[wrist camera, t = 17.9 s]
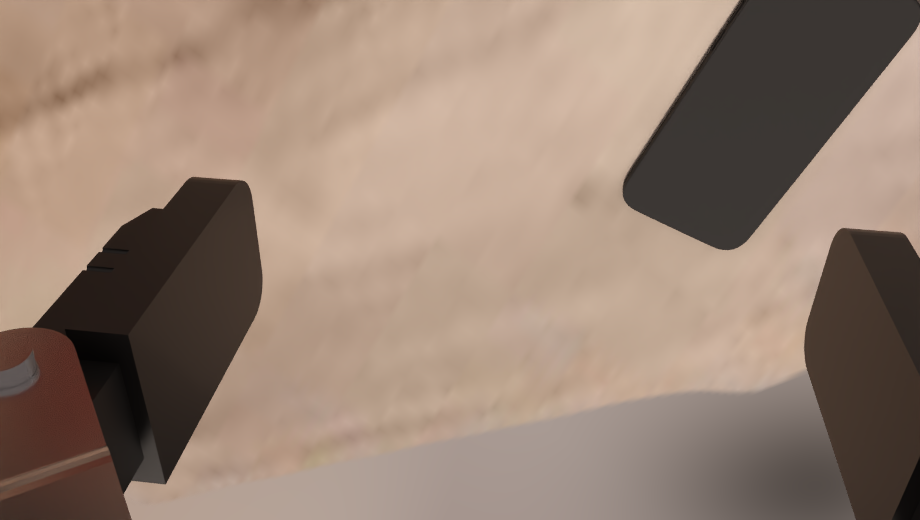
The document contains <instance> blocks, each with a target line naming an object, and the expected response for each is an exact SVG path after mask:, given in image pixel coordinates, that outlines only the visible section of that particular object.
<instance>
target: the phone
mask: <svg viewBox="0 0 920 520" xmlns="http://www.w3.org/2000/svg"><path fill="white" fill-rule="evenodd" d="M919 23H920V5H919V3H918V2H917V0H743V2H741V3H740V4H739V6H738V8H737V9H736V11H735V12H734V14H733V15H732V17H731V18H730V20H729V21H728V25H727V26H726V28H725V29H723V30H722V32H721V33H720V35H719V36H718V38H717V39H716V41H715V42H714V44H713V45H712V47H711V49H710V52H709V53H708V55H707V57H706V58H705V60H704V61H703V63H702V64H701V66H700V67H699V69H698V70H697V72H696V73H695V75H694V76H693V78H692V79H691V81H690V82H689V84H688V85H687V87H686V89H685V90H684V92H683V93H682V95H681V96H680V98H679V99H678V101H677V102H676V104H675V105H674V107H673V108H672V110H671V111H670V113H669V114H668V116H667V117H666V119H665V120H664V122H663V124H662V125H661V127H660V128H659V130H658V131H657V133H656V134H655V136H654V137H653V139H652V140H651V142H650V143H649V145H648V146H647V148H646V149H645V151H644V152H643V154H642V155H641V157H640V159H639V160H638V162H637V163H636V165H635V166H634V168H633V169H632V171H631V172H630V174H629V175H628V177H627V179H626V181H625V183H624V186H623V197H624V200H625V202H626V203H627V204H628V206H630V207H631V208H632V209H634V210H636V211H638V212H640V213H642V214H644V215H646V216H648V217H650V218H652V219H655V220H657V221H659V222H661V223H663V224H665V225H667V226H669V227H671V228H674V229H676V230H678V231H680V232H682V233H684V234H686V235H689V236H691V237H693V238H695V239H697V240H699V241H701V242H704V243H706V244H708V245H710V246H712V247H715V248H717V249H722V250H731V249H735V248H738V247H739V246H741V245H742V244H744V243H745V242H746V241H747V240H748V239H749V238H750V236H751V235H752V234H753V233H754V232H755V230H756V229H757V228H758V227H759V225H760V224H761V223H762V222H763V220H764V219H765V218H766V217H767V215H768V214H769V213H770V212H771V210H772V209H773V208H774V207H775V205H776V204H777V203H778V202H779V200H780V199H781V198H782V197H783V195H784V194H785V193H786V192H787V190H788V189H789V188H790V187H791V185H792V184H793V183H794V182H795V180H796V179H797V178H798V177H799V176H800V174H801V173H802V172H803V171H804V169H805V168H806V167H807V166H808V164H809V163H810V162H811V161H812V159H813V158H814V157H815V156H816V154H817V153H818V152H819V151H820V149H821V148H822V147H823V146H824V144H825V143H826V142H827V141H828V139H829V138H830V137H831V136H832V134H833V133H834V132H835V131H836V129H837V128H838V127H839V126H840V124H841V123H842V122H843V121H844V119H845V118H846V117H847V116H848V114H849V113H850V112H851V111H852V109H853V108H854V107H855V106H856V104H857V103H858V102H859V101H860V99H861V98H862V97H863V96H864V94H865V93H866V92H867V91H868V89H869V88H870V87H871V86H872V85H873V83H874V82H875V81H876V80H877V78H878V77H879V76H880V75H881V73H882V72H883V71H884V70H885V68H886V67H887V66H888V65H889V63H890V62H891V61H892V60H893V58H894V57H895V56H896V55H897V53H898V52H899V51H900V50H901V48H902V47H903V46H904V45H905V43H906V42H907V41H908V40H909V38H910V37H911V36H912V34H913V33H914V32H915V30H916V29H917V27H918V25H919Z"/></svg>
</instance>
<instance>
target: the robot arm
mask: <svg viewBox="0 0 920 520" xmlns="http://www.w3.org/2000/svg"><path fill="white" fill-rule="evenodd" d="M261 294H262V268H261V260H260V253H259V245H258V238H257V230H256V223H255V215H254V208H253V200H252V194H251V191H250V188H249V186H248V184H247V183H246V182H245V181H240V180H227V179H214V178H201V177H191V178H189V179H188V180H187V181H186V182H185V183H184V185H183V186H182V187H181V188H180V189H179V191H178V192H177V193H176V194H175V196H174V197H173V198H172V199H171V200H170V202H169V203H168V204H167V205H166V206H165V208H164V209H157V208H152V209H150V210H148V211H147V212H145V213H143V214H142V215H140V216H138V217H136V218H135V219H133V220H131V221H129V222H128V223H126V224H124V225H123V226H121V227H120V228H119V230H118V231H117V232H116V233H115V234H114V235H113V236H112V238H111V239H110V240H109V241H108V242H107V243H106V244H105V246H104V247H103V251H102V252H98V254H97V255H96V256H95V257H94V258H93V259H92V260H91V262H90V263H89V264H88V265H87V270H86V271H85V270H83V271H82V272H81V273H80V274H79V275H78V276H77V277H76V279H75V280H74V281H73V282H72V283H71V284H70V285H69V287H68V288H67V289H66V290H65V291H64V292H63V293H62V295H61V296H60V297H59V298H58V299H57V300H56V301H55V303H54V304H53V305H52V306H51V307H50V308H49V309H48V311H47V312H46V313H45V314H44V315H43V316H42V317H41V318H40V320H39V321H38V322H37V323H36V324H35V325H34V326H33V328H19V329H12V330H7V331H3V332H0V520H132V519H131V516H130V513H129V510H128V507H127V504H126V501H125V498H124V495H123V494H124V492H125V491H126V489H127V487H128V485H129V484H130V482H131V481H140V482H149V483H158V484H166V483H167V481H168V479H169V477H170V475H171V473H172V471H173V470H174V468H175V466H176V464H177V462H178V460H179V458H180V457H181V455H182V453H183V451H184V449H185V447H186V445H187V443H188V442H189V440H190V438H191V436H192V434H193V432H194V430H195V428H196V427H197V425H198V423H199V421H200V419H201V417H202V415H203V414H204V412H205V410H206V408H207V406H208V404H209V402H210V400H211V399H212V397H213V395H214V393H215V391H216V389H217V387H218V385H219V384H220V382H221V380H222V378H223V376H224V374H225V372H226V370H227V369H228V367H229V365H230V363H231V361H232V359H233V357H234V356H235V354H236V352H237V350H238V348H239V346H240V344H241V342H242V341H243V339H244V337H245V335H246V333H247V331H248V329H249V327H250V326H251V324H252V322H253V320H254V318H255V316H256V314H257V311H258V308H259V305H260V300H261ZM804 352H805V362H806V367H807V371H808V374H809V377H810V380H811V383H812V386H813V389H814V392H815V395H816V398H817V401H818V404H819V407H820V410H821V414H822V417H823V420H824V423H825V426H826V429H827V432H828V435H829V438H830V441H831V444H832V447H833V450H834V454H835V457H836V460H837V463H838V466H839V469H840V472H841V475H842V478H843V481H844V484H845V487H846V490H847V493H848V496H849V499H850V503H851V506H852V509H853V512H854V514H855V518H856V520H920V258H919V257H918V255H917V253H916V251H915V250H914V248H913V246H912V245H911V243H910V241H909V240H908V238H907V237H906V235H904V234H903V233H900V232H888V231H875V230H862V229H849V228H842V229H840V230H839V231H838V232H837V233H836V235H835V236H834V238H833V241H832V243H831V246H830V250H829V253H828V256H827V259H826V263H825V266H824V269H823V272H822V276H821V279H820V282H819V286H818V289H817V292H816V295H815V299H814V302H813V305H812V309H811V312H810V315H809V318H808V322H807V326H806V332H805V343H804Z"/></svg>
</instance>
